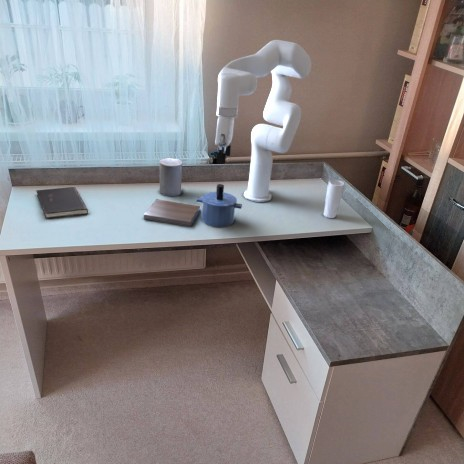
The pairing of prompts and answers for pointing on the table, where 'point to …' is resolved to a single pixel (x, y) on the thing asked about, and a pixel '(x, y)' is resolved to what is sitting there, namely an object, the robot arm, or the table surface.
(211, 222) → the pot
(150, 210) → the board
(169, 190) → the pillar candle
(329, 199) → the white cylinder
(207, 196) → the lid
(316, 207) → the table surface
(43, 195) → the hardcover book
